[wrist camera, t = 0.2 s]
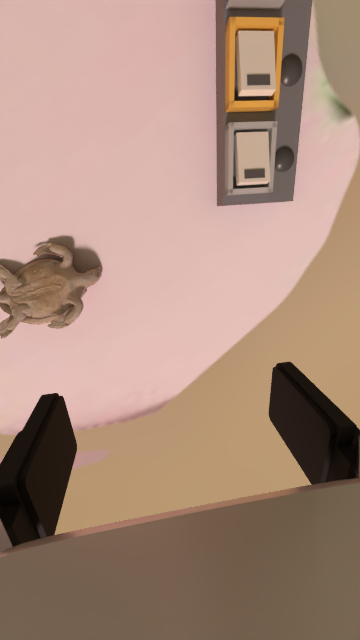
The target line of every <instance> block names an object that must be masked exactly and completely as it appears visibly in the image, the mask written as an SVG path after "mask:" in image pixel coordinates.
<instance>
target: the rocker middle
mask: <svg viewBox="0 0 360 640" xmlns="http://www.w3.org/2000/svg"><path fill="white" fill-rule="evenodd" d="M235 46H236V64H237V82H238V96H272V95H273V93H274V92H275V90H276V71H275V43H274V31H238V33H237V36H236V38H235Z"/></svg>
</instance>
